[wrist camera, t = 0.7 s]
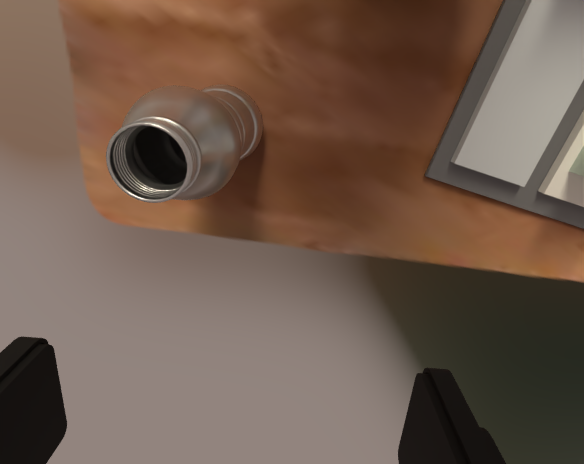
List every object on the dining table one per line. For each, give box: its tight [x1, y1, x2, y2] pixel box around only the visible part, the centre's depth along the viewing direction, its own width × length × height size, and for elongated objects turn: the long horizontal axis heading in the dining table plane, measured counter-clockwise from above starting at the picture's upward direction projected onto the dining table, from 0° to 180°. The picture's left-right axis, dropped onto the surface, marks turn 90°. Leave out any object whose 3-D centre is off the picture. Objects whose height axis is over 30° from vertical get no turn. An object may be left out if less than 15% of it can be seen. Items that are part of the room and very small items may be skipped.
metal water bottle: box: [106, 85, 263, 203], centre depth 26 cm, size 6×7×20 cm
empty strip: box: [451, 0, 584, 187], centre depth 29 cm, size 20×7×7 cm, turn 162°
